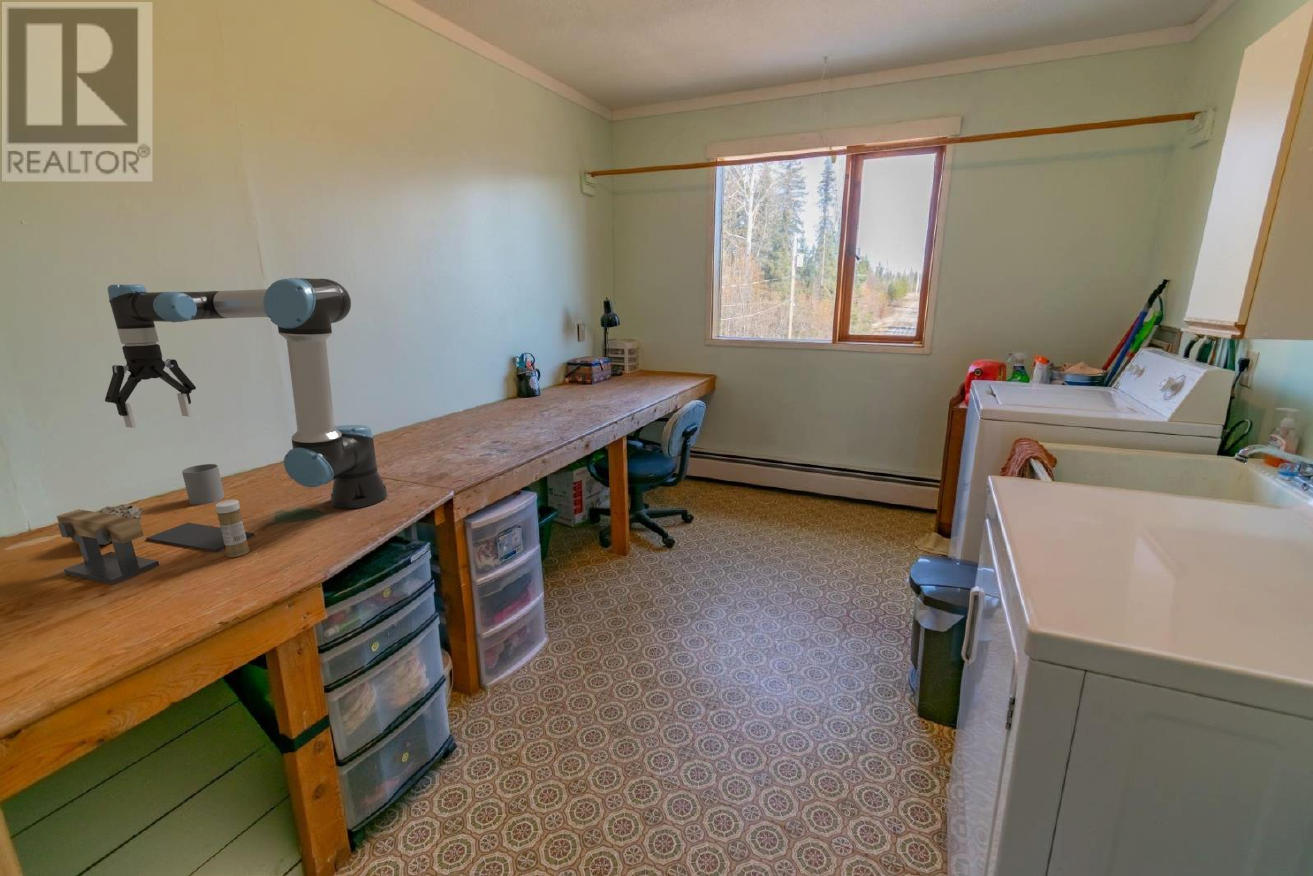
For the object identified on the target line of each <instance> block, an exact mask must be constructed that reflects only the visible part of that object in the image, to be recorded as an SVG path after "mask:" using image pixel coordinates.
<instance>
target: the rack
mask: <svg viewBox="0 0 1313 876" xmlns="http://www.w3.org/2000/svg"><path fill="white" fill-rule="evenodd" d="M57 526H58V529H59V532H60V535H61V537H62V538H67V539H68V538H70V537H72V536H73V532H72V529H71V526H70V523H60V524H59V523H58V524H57ZM95 533H96V537H97V539H96V538H90V537H85V536H79V535H76V538H77V541H78V543H77V544H78V547H79V550H80V554H81V556H82V560H83V562H80V563H78V564H75V565H72V566H70V567H67V568H64V569H63V573H64V575H66V576H69V577H70V576H71V577H76V578H81V579H83V580H84V579H85V580H89V581H95V582H99V583H103V582H104V583H105V584H108V583H109V584H108V585H112V584H113V586H114V585H116V584H115V583H117V584H119V583H121V582H124V581H126V580H128V578H129V579H131V578H133V577H135V576H138V575H140V574H142V572H143V573H145V572H147V571H149V570H152V569H154V568H156V567H159V566H160V562H159V560H156V559H151V558H146V557H142V556H137V555H136V552H135V551H136V550H135V548H134V545H133V541H132V540H131V541H128V542H125V543H118V542H112V541H110V539H109V536H108V533H107V530H104V529H99V530H96V531H95ZM97 540H98V541H97ZM111 542H112V546H113V549H114V551H109V552H107V553H105V554H102V552H101V549H100V545H105V546H106V545H108V544H110V543H111ZM98 543H99V544H98ZM139 573H140V574H139ZM130 577H131V578H130ZM118 582H119V583H118ZM104 583H103V584H104Z"/></svg>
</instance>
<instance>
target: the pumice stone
mask: <svg viewBox="0 0 1313 876" xmlns="http://www.w3.org/2000/svg"><path fill="white" fill-rule="evenodd" d="M96 512H99V513H105V514H111V515H117V516H123V517H129V518H135V519H139V520H140V521H141V519H142V517H143V515H142V512H143V508H142V507H138V506H136V505H133V504H132V505H131V504H119V505H116V506H105V507H103V508H101V509H100V510H97V511H96ZM69 538H70V539H71V541H72V542H75V543H77V544H78V541H77V538H76V535H74V534H73V536H72V537H69ZM97 541H98V540H97ZM98 545H100V544H99V543H98Z"/></svg>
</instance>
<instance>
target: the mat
mask: <svg viewBox="0 0 1313 876" xmlns="http://www.w3.org/2000/svg"><path fill="white" fill-rule="evenodd" d="M245 534H246V540H247V539H249V538H252V537H254V536H255V535H256V533H255V532H249V531H245ZM145 539H146V541H149V542H150V541H151V542H155V543H159V544H160V543H161V544H167V545H171V546H178V547H184V548H190V549H194V550H201V551H207V552H211V553H218V552H220V551H222V550H224V549H225V550H226V547H225V544H224V540H223V536H222V532H221V527H218V526H213V525H205V524H201V523H199V524H198V523H193V522H185V523H182V524H180V525H176V526H174V527H172V528H169V529H166V530H164V531H162V532H158V533H156V534H153V535H150V536H148V537H146V538H145Z"/></svg>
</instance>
